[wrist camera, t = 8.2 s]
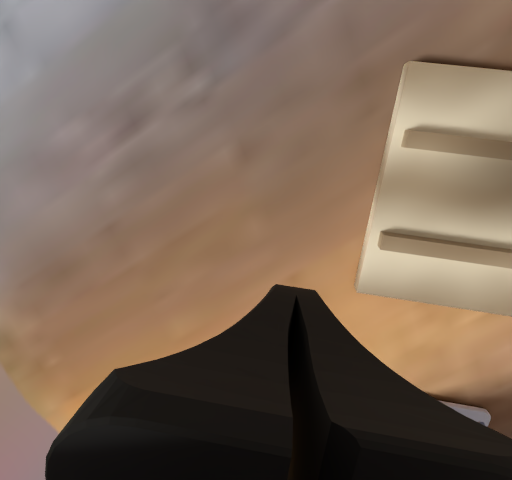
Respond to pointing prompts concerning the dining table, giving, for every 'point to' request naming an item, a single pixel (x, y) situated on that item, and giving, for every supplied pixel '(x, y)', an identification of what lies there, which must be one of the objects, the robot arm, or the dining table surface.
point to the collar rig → (444, 192)
